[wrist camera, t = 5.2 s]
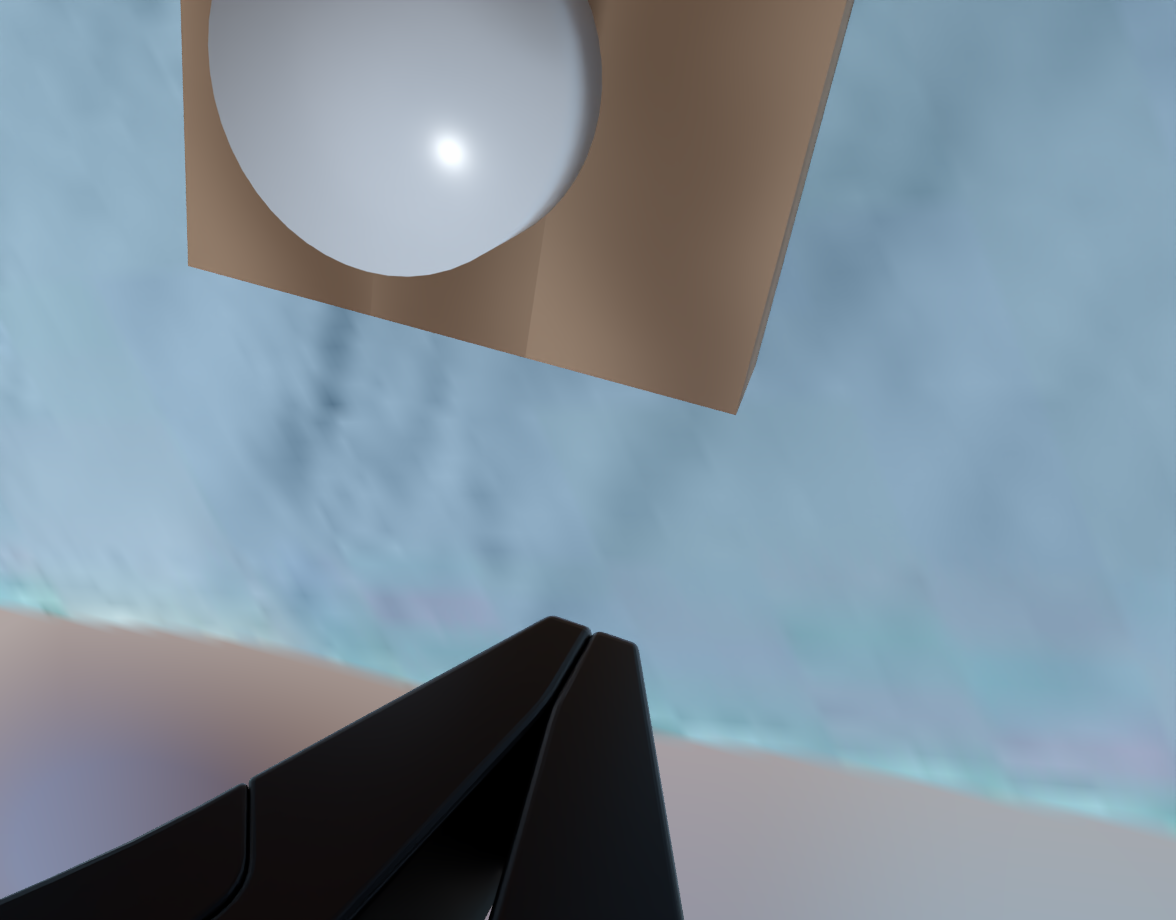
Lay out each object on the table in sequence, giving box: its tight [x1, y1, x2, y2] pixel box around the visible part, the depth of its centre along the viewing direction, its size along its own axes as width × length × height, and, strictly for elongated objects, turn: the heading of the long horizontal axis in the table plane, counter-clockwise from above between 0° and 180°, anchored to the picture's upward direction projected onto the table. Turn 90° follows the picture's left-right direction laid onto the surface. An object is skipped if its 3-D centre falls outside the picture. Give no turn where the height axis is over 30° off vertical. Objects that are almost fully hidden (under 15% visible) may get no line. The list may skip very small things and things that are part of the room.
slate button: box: [208, 0, 602, 277], centre depth 16 cm, size 6×6×5 cm
